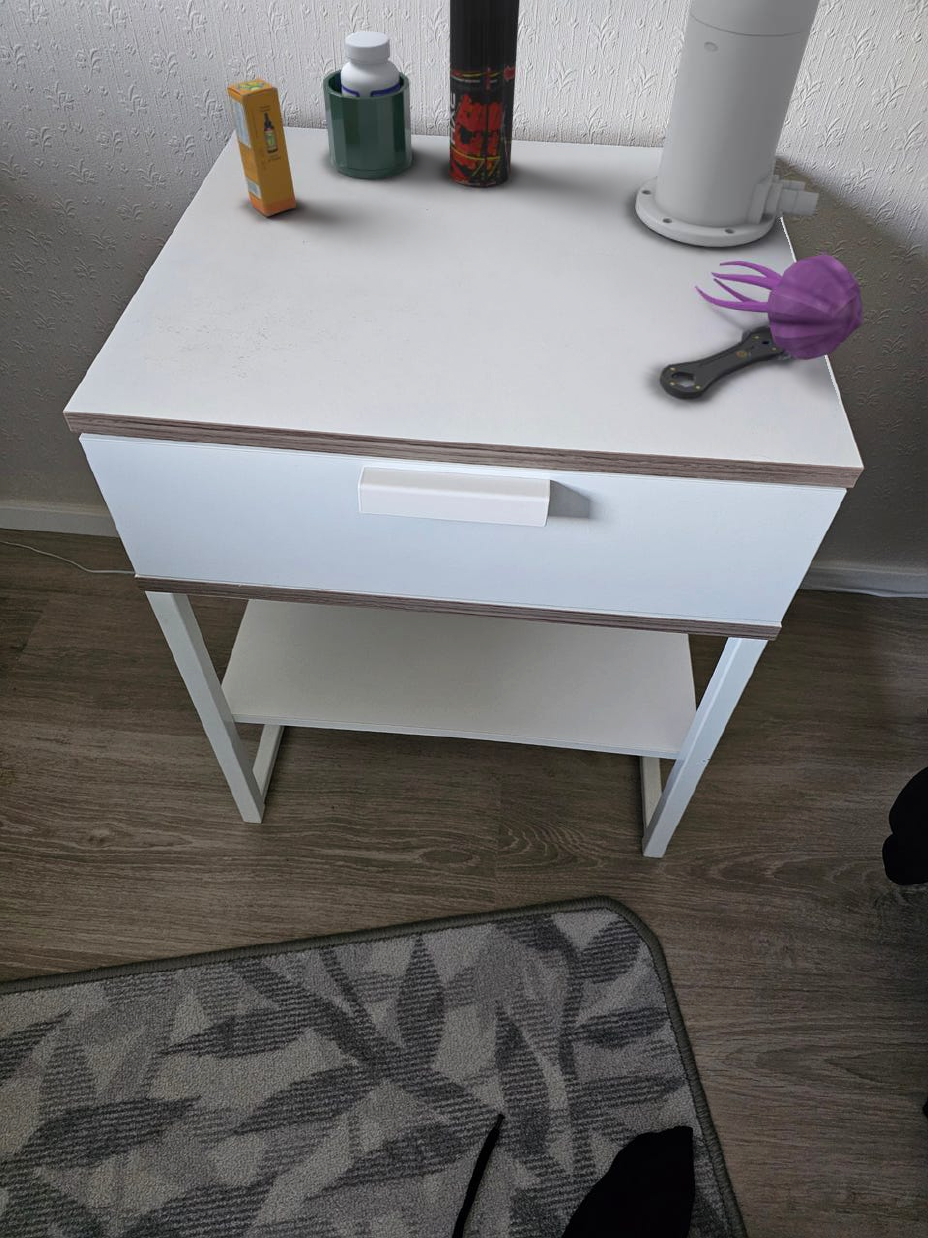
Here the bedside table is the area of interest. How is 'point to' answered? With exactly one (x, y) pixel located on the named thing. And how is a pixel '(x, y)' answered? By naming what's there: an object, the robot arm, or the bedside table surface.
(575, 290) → the bedside table surface
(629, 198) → the bedside table surface
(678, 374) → the hex hole wrench
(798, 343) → the jellyfish
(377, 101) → the cup
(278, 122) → the supplement box
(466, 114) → the deodorant
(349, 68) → the pill bottle
